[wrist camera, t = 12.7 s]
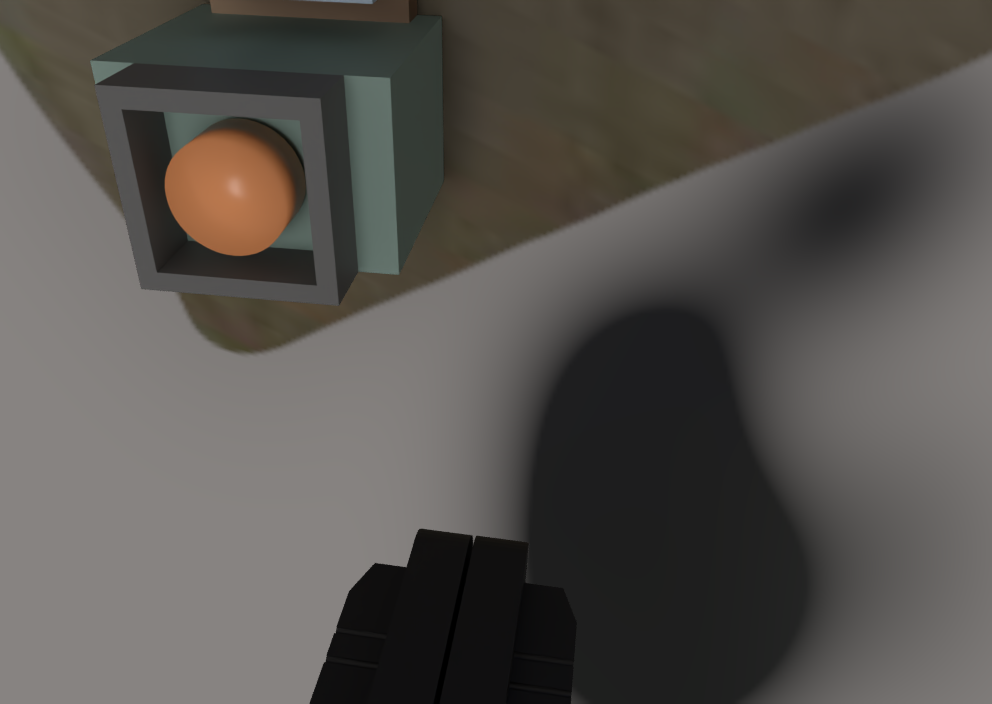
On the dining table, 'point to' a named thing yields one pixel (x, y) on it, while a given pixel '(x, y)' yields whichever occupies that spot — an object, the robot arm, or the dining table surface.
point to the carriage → (348, 1)
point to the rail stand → (321, 9)
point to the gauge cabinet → (305, 127)
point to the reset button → (235, 187)
